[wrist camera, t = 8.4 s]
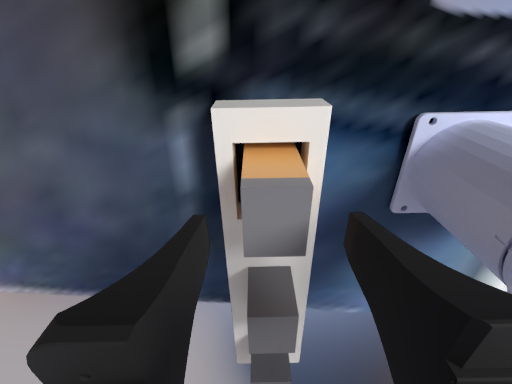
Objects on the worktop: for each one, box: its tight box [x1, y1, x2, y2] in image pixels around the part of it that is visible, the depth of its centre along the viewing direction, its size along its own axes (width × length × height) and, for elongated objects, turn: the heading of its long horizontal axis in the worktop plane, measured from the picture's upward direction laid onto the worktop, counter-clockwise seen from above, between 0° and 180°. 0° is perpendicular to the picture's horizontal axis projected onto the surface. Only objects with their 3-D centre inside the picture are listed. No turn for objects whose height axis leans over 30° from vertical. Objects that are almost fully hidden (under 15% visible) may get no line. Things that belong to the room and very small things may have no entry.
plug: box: [240, 142, 314, 257], centre depth 16 cm, size 4×4×7 cm
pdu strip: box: [211, 99, 332, 384], centre depth 21 cm, size 7×28×7 cm, turn 1°
